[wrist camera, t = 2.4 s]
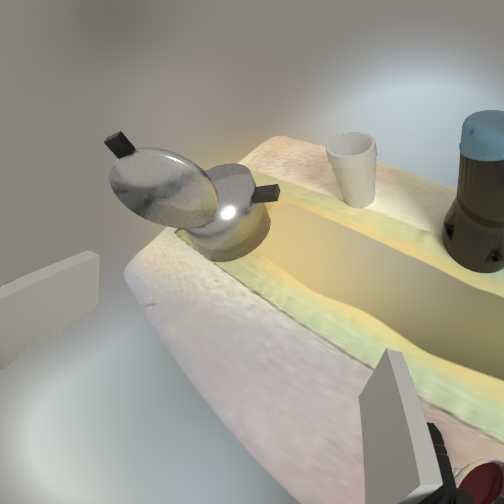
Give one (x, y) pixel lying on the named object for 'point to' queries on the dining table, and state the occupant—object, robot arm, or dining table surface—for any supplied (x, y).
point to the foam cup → (354, 167)
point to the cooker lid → (161, 185)
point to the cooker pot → (235, 215)
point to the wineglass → (482, 480)
